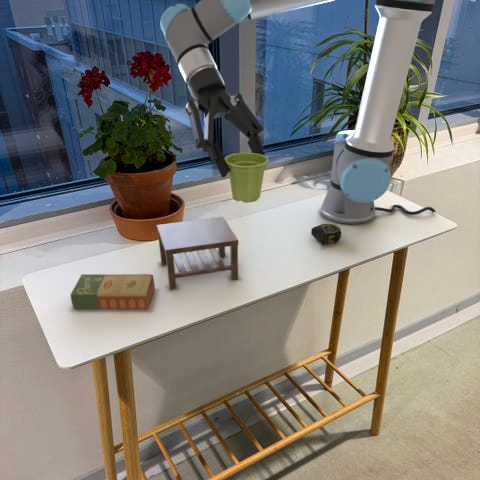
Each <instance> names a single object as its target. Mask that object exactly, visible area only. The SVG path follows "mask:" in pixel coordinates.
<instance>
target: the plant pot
mask: <svg viewBox="0 0 480 480" xmlns="http://www.w3.org/2000/svg"><path fill="white" fill-rule="evenodd" d="M224 158H225V160H226V162H227V165H228V167H229V169H230V171H229V173H228V176H229V183H230V189H231V190H230V191H231V197H232V200H234V201H235V202H242V203H245V204H247V203H248V204H249V203H254V202H257V201H258V200H259V199H260V198H261V193H262V192H261V191H262V187H263V182H264V181H263V180H264V175H265V171H266V168H267V164H268V163H269V161H270V160H269V157H268V156H266V155H265V156H264V155H261V154H257V153H252V152H238V153H237V152H235V153H231V154H228V155H227V156H224Z"/></svg>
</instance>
